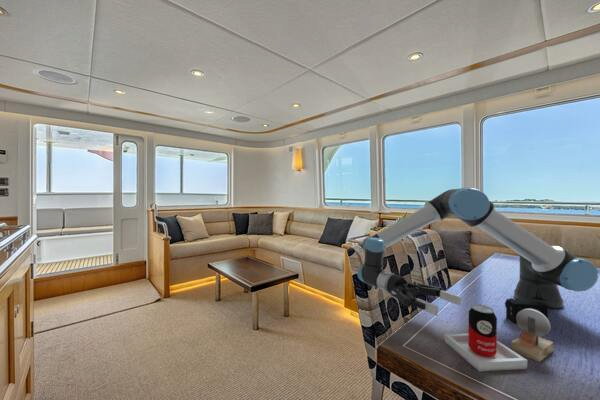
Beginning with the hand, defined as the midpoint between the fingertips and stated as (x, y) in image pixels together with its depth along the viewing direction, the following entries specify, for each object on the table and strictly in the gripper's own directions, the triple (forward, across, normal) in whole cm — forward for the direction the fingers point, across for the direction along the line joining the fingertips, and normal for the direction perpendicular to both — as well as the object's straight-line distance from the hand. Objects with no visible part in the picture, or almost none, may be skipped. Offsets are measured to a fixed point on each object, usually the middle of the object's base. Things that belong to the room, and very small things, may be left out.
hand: (449, 306), depth 79 cm
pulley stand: (+17, -12, -9) cm, 23 cm away
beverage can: (+10, +2, -9) cm, 13 cm away
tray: (+10, +2, -9) cm, 14 cm away
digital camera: (+9, -33, -9) cm, 36 cm away
